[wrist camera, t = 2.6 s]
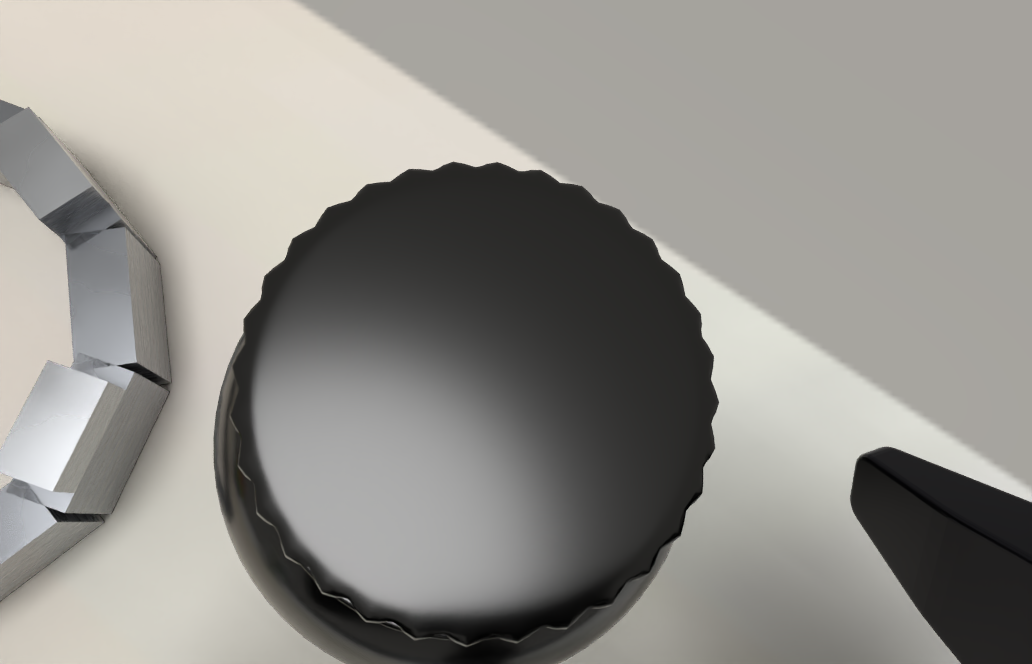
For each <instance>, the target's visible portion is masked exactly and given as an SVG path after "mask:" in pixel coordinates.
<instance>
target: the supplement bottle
mask: <svg viewBox="0 0 1032 664" xmlns="http://www.w3.org/2000/svg"><path fill="white" fill-rule="evenodd" d="M701 327H702V322H701V314H700V312H699V311H698V310H697V309H696V307H695V306H694V305H693V304H692V303H691V302H690V301H689V299H688V298H687V297H686V296H685V292H684V287H683V283H682V280H681V276H680V274H679V273H678V272H677V271H676V270H674V269H673V268H672V267H671V266H670V265H668V264H667V263H666V262H664V261H663V260H662V259H661V257H660V255H659V253H658V249H657V247H656V245H655V243H654V241H653V239H651V238H649V237H648V236H646V235H645V234H643V233H641V232H639V231H637V230H635V229H633V228H632V227H631V226H630V224H629V223H628V221H627V219H626V217H625V216H624V215H623V213H622V212H621V211H620V210H619V209H616V208H614V207H612V206H609V205H605V204H602V203H598V202H597V201H596V200H595V199H594V198H593V197H592V195H591V194H590V193H589V192H588V191H587V190H586V189H585V188H584V187H582V186H578V185H574V184H565V183H559V182H558V181H557V180H555V179H554V178H553V177H551V176H550V175H548V174H547V173H545V172H543V171H542V170H529V171H517V170H515V169H513V168H511V167H509V166H506V165H504V164H501V163H498V162H496V163H490V164H486V165H484V166H480V167H473V166H470V165H466V164H462V163H457V162H451V163H449V164H446V165H443V166H442V167H440V168H438V169H436V170H433V171H431V170H422V169H409V170H407V171H405V172H404V173H402V174H400V175H399V176H397V177H396V178H395V179H393V180H392V181H391V182H380V183H373V184H367V185H366V186H364V187H363V188H362V189H361V190H360V191H359V192H358V193H357V195H356V196H355V197H354V198H353V199H352V200H351V201H348V202H344V203H340V204H337V205H334V206H331V207H328V208H327V209H326V210H325V212H324V213H323V214H322V216H321V217H320V219H319V221H318V222H317V224H316V226H315V227H314V228H312V229H310V230H307V231H305V232H303V233H302V234H300V235H298V236H296V237H295V238H293V239H292V241H291V244H290V246H289V248H288V252H287V255H286V258H285V260H284V261H283V262H281V263H280V264H279V265H277V266H276V267H274V268H273V269H272V270H271V271H270V272H269V273H268V274H266V275H265V276H264V280H263V285H262V295H261V300H260V301H259V302H258V303H257V304H256V305H255V306H254V307H253V308H252V309H251V310H250V312H249V313H248V314H247V316H246V317H245V318H244V333H243V335H242V336H241V338H240V340H239V342H238V344H237V346H236V348H235V351H234V353H233V356H232V358H231V360H230V363H229V365H228V368H227V371H226V374H225V378H224V381H223V384H222V387H221V391H220V396H219V401H218V406H217V411H216V419H215V429H214V470H215V480H216V488H217V493H218V498H219V503H220V507H221V512H222V515H223V518H224V521H225V524H226V527H227V530H228V534H229V536H230V539H231V541H232V543H233V545H234V548H235V550H236V552H237V554H238V557H239V559H240V561H241V562H242V564H243V566H244V567H245V569H246V571H247V573H248V574H249V576H250V578H251V580H252V581H253V583H254V584H255V585H256V587H257V588H258V589H259V591H260V592H261V594H262V595H263V596H264V598H265V599H266V600H267V602H268V603H269V604H270V605H271V606H272V607H273V608H274V609H275V610H276V612H277V613H278V614H279V615H280V616H281V617H282V618H283V619H284V620H285V621H286V622H287V623H288V624H289V625H290V626H291V627H293V628H294V629H295V630H296V631H297V632H298V633H299V634H300V635H302V636H303V637H304V638H305V639H307V640H308V641H310V642H311V643H312V644H314V645H315V646H317V647H318V648H319V649H321V650H322V651H324V652H325V653H327V654H329V655H331V656H332V657H334V658H336V659H338V660H340V661H341V662H343V663H345V664H559V663H561V662H563V661H565V660H567V659H568V658H570V657H572V656H573V655H575V654H577V653H578V652H580V651H582V650H583V649H585V648H586V647H588V646H589V645H590V644H592V643H593V642H594V641H596V640H597V639H598V638H600V637H601V636H602V635H604V634H605V633H606V632H607V631H608V630H610V629H611V628H612V627H613V626H614V625H615V624H616V623H617V622H618V621H619V620H620V619H621V618H623V617H624V616H625V615H626V613H627V612H628V611H629V610H630V609H631V608H632V607H633V606H634V604H635V603H636V602H637V601H638V600H639V599H640V598H641V596H642V595H643V593H644V592H645V591H646V589H647V588H648V587H649V585H650V584H651V582H652V581H653V580H654V578H655V577H656V575H657V573H658V571H659V570H660V568H661V566H662V564H663V563H664V561H665V559H666V558H667V555H668V553H669V551H670V549H671V547H672V544H673V542H674V541H675V540H676V539H677V538H678V537H680V536H681V532H682V528H683V525H684V520H685V514H686V510H687V509H688V508H689V506H690V505H692V504H693V503H695V501H696V500H697V499H698V498H699V497H700V496H701V494H702V490H703V467H704V465H705V463H706V462H707V461H708V460H709V458H710V457H711V455H712V453H713V451H714V449H715V443H714V435H713V430H712V425H711V423H712V419H713V417H714V415H715V413H716V410H717V407H718V404H719V401H718V398H717V394H716V391H715V389H714V386H713V384H712V381H711V375H712V370H713V362H714V356H713V354H712V352H711V350H710V348H709V347H708V345H707V343H706V342H705V340H704V339H703V337H702V333H701Z"/></svg>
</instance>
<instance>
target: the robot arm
mask: <svg viewBox="0 0 1032 664" xmlns="http://www.w3.org/2000/svg"><path fill="white" fill-rule="evenodd" d="M850 501H851V506H852V510H853V512H854V514H855V516H856V518H857V519H858V521H859V522H860V524H861V525H862V527H863V528H864V530H865V531H866V533H867V534H868V536H869V537H870V539H871V540H872V542H873V543H874V545H875V546H876V548H877V549H878V551H879V552H880V554H881V555H882V557H883V558H884V560H885V561H886V563H887V564H888V566H889V567H890V569H891V570H892V572H893V573H894V575H895V576H896V578H897V579H898V581H899V582H900V584H901V585H902V587H903V588H904V590H905V591H906V593H907V594H908V596H909V597H910V599H911V600H912V602H913V603H914V604H915V606H916V607H917V609H918V610H919V611H920V613H921V614H922V616H923V617H924V618H925V619H926V621H927V622H928V623H929V625H930V626H931V627H932V628H933V630H934V631H935V632H936V633H937V635H938V636H939V637H940V638H941V639H942V641H943V642H944V643H945V644H946V646H947V647H948V648H949V649H950V650H951V652H952V653H953V654H954V655H955V657H956V658H957V659H958V660H959V661H960V663H961V664H1032V502H1029V501H1027V500H1024V499H1022V498H1019V497H1017V496H1014V495H1011V494H1009V493H1006V492H1004V491H1001V490H999V489H996V488H994V487H991V486H989V485H986V484H984V483H981V482H979V481H976V480H974V479H971V478H969V477H966V476H964V475H961V474H959V473H956V472H953V471H951V470H948V469H946V468H943V467H941V466H938V465H936V464H933V463H931V462H928V461H926V460H923V459H921V458H918V457H916V456H913V455H911V454H908V453H906V452H903V451H901V450H898V449H895V448H892V447H881V448H878V449H875V450H873V451H870V452H867V453H864V454H862V455H860V456H859V458H858V459H857V461H856V465H855V471H854V477H853V483H852V489H851V495H850Z"/></svg>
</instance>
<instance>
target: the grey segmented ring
mask: <svg viewBox="0 0 1032 664" xmlns="http://www.w3.org/2000/svg"><path fill="white" fill-rule="evenodd" d="M0 184H3V185H6V186H8V187H11V188H14V189H15V190H16V191H17V193H18V194H19V195H20V196H21V198H22V199H23V200H24V201H25V203H26V204H27V205H28V206H29V208H30V209H31V210H32V211H33V213H34V214H35V215H36V216H37V218H38V219H39V220H40V221H41V222H43V223H44V224H45V225H46V226H47V227H49V228H50V229H51V230H52V231H53V232H55V233H56V234H57V235H58V236H59V237H61V239H62V240H63V241H64V242H65V244H66V257H67V272H68V286H69V300H70V315H71V329H72V343H73V358H74V362H73V364H72V366H71V368H69V367H66V366H63V365H60V364H57V363H55V362H52V361H49V360H48V361H47V363H46V364H45V366H44V368H43V370H42V372H41V374H40V376H39V378H38V380H37V381H36V383H35V385H34V387H33V389H32V391H31V393H30V395H29V397H28V398H27V400H26V402H25V404H24V406H23V408H22V410H21V412H20V413H19V415H18V417H17V419H16V421H15V423H14V425H13V427H12V429H11V430H10V432H9V434H8V436H7V438H6V440H5V442H4V444H3V445H2V447H1V449H0V473H2V474H4V475H7V476H10V477H13V479H12V481H11V482H10V483H9V484H7V485H6V486H4V487H3V488H2V489H0V601H1V600H3V599H4V598H5V597H6V596H8V595H9V594H10V593H12V592H13V591H14V590H16V589H17V588H18V587H20V586H21V585H22V584H24V583H25V582H26V581H28V580H29V579H30V578H31V577H33V576H34V575H35V574H37V573H38V572H39V571H41V570H42V569H43V568H45V567H46V566H47V565H49V564H50V563H51V562H53V561H54V560H55V559H56V558H58V557H59V556H60V555H62V554H63V553H64V552H66V551H67V550H68V549H70V548H71V547H72V546H74V545H75V544H76V543H78V542H79V541H80V540H82V539H83V538H84V537H85V536H87V535H88V534H89V533H91V532H92V531H93V530H95V529H96V528H97V527H99V526H100V525H101V524H103V523H104V521H103V519H102V518H101V517H100V515H99V514H111V513H112V511H113V509H114V507H115V505H116V503H117V501H118V499H119V496H120V494H121V492H122V490H123V488H124V486H125V484H126V482H127V480H128V478H129V476H130V474H131V471H132V469H133V467H134V465H135V463H136V461H137V459H138V457H139V455H140V453H141V451H142V448H143V446H144V444H145V442H146V440H147V438H148V436H149V434H150V432H151V430H152V428H153V426H154V423H155V421H156V419H157V417H158V415H159V413H160V411H161V409H162V407H163V405H164V403H165V401H166V398H167V396H168V394H169V391H168V390H166V389H164V388H162V387H160V386H159V385H162V384H168V383H171V374H170V364H169V353H168V343H167V332H166V322H165V312H164V301H163V291H162V280H161V270H160V264H159V263H158V262H157V261H156V259H155V258H156V257H157V256H156V255H155V254H154V253H153V251H152V250H151V249H150V248H149V246H148V245H147V244H146V243H145V241H144V240H143V239H142V238H141V236H140V235H139V234H138V233H137V232H136V230H135V229H134V228H133V227H132V225H131V224H130V223H129V222H128V220H127V219H126V218H125V217H124V215H123V214H122V213H121V212H120V211H119V209H118V208H117V207H116V206H115V204H114V203H113V202H112V201H111V199H110V198H109V197H108V196H107V194H106V193H105V192H104V191H103V189H102V188H101V187H100V186H99V185H98V183H97V182H96V181H95V180H94V178H93V177H92V176H91V175H90V173H89V172H88V171H87V170H86V168H85V167H84V166H83V165H82V164H81V163H80V162H79V161H78V159H77V158H76V157H75V156H74V155H73V154H72V153H71V152H70V151H69V149H68V148H67V147H66V146H65V145H64V144H63V143H62V142H61V141H60V139H59V138H58V137H57V136H56V135H55V134H54V133H53V132H52V131H51V129H50V128H49V127H48V126H47V125H46V124H45V123H44V122H43V121H42V120H41V118H40V117H37V115H36V114H35V113H34V112H33V111H32V110H31V109H30V108H29V107H28V108H26V109H24V108H21V107H18V106H16V105H13V104H10V103H8V102H5V101H2V100H0Z"/></svg>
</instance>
